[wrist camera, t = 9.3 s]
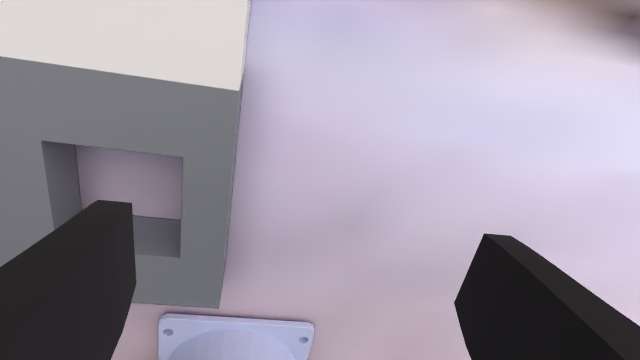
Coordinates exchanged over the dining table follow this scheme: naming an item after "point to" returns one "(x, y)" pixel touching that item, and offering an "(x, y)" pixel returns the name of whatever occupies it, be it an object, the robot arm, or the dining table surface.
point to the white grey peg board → (124, 124)
